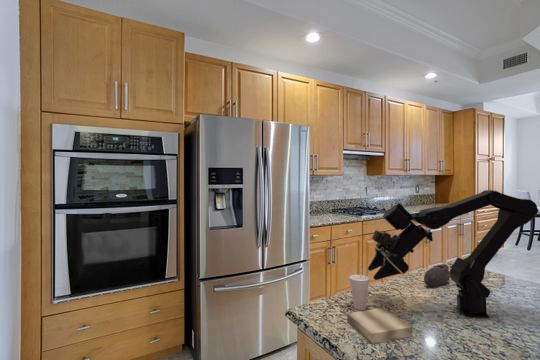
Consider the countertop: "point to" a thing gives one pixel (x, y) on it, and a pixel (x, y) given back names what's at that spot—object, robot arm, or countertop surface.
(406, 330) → the plinth
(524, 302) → the countertop surface
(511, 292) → the countertop surface
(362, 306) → the smoothie
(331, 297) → the countertop surface
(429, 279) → the perforated stone tool
